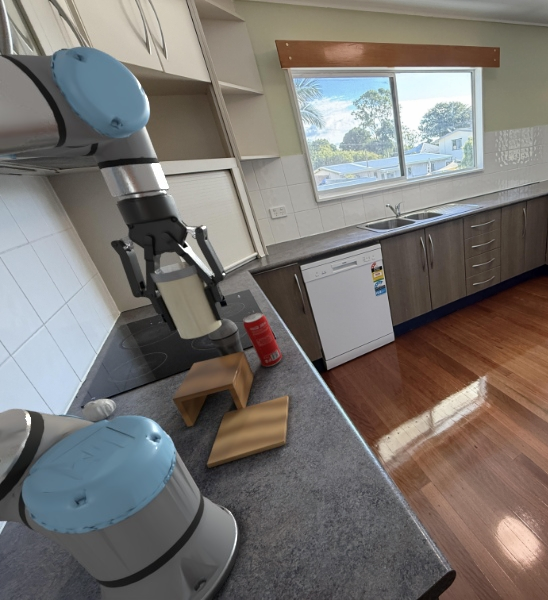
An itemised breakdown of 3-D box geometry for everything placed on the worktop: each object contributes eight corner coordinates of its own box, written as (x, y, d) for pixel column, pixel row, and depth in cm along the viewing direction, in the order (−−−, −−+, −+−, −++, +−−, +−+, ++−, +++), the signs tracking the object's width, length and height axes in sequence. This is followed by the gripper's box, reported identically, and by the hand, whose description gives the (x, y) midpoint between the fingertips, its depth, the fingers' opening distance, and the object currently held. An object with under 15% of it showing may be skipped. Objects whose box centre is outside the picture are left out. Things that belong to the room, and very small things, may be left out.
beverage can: (285, 354, 92) (270, 309, 86) (275, 368, 86) (258, 320, 80) (266, 355, 93) (250, 311, 87) (255, 369, 87) (237, 322, 81)
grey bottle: (218, 375, 87) (189, 311, 78) (237, 360, 93) (212, 299, 85) (239, 377, 84) (211, 311, 76) (257, 361, 90) (233, 299, 82)
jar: (218, 333, 57) (191, 268, 52) (173, 343, 55) (141, 277, 51) (226, 317, 64) (203, 258, 59) (186, 326, 62) (159, 266, 57)
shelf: (244, 411, 72) (232, 383, 68) (187, 427, 69) (172, 399, 66) (253, 375, 84) (243, 350, 81) (205, 388, 82) (193, 363, 79)
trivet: (285, 444, 61) (284, 440, 61) (208, 468, 58) (206, 464, 58) (289, 398, 74) (287, 395, 73) (226, 416, 71) (224, 412, 70)
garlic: (86, 430, 73) (74, 413, 71) (89, 418, 77) (77, 401, 75) (118, 416, 76) (107, 399, 74) (119, 405, 80) (109, 389, 78)
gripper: (216, 186, 55) (256, 303, 64) (85, 204, 51) (147, 327, 60) (205, 187, 49) (251, 317, 58) (52, 208, 44) (128, 345, 53)
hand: (198, 322), depth 59 cm, fingers closed on jar, 7 cm apart
